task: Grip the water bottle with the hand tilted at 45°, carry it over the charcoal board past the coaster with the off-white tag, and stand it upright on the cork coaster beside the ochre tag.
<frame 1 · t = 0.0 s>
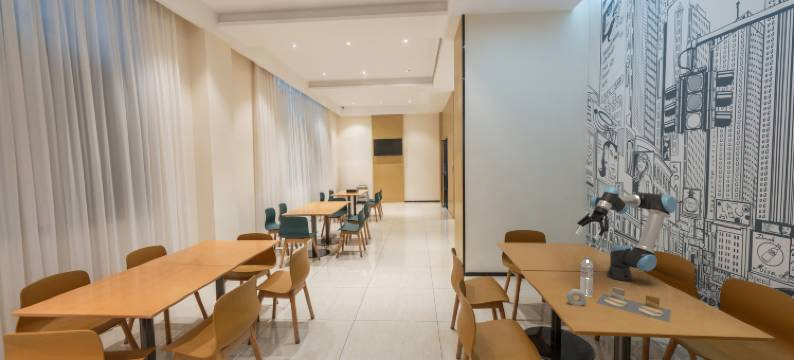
hand: (586, 237, 196), 36 cm above the table, tool tilted 35°, fingers open, 13 cm apart
water bottle: (586, 297, 192), on the table
board: (632, 308, 177), on the table
ochre tag coaster: (650, 311, 171), resting on board
white tag coaster: (615, 302, 182), resting on board
donut: (576, 306, 180), on the table
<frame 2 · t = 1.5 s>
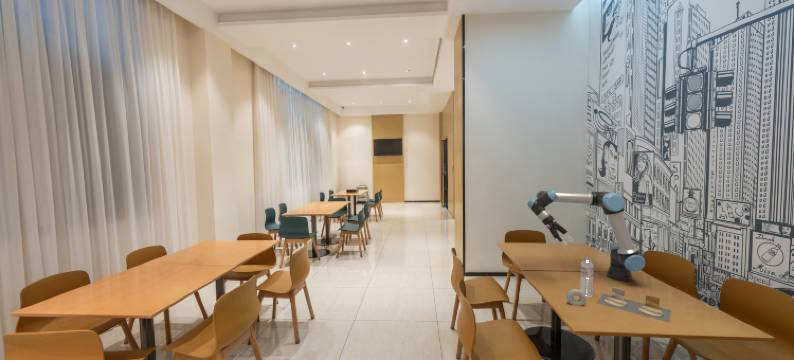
hand: (569, 243, 206), 29 cm above the table, tool tilted 45°, fingers open, 13 cm apart
nothing on the table moved.
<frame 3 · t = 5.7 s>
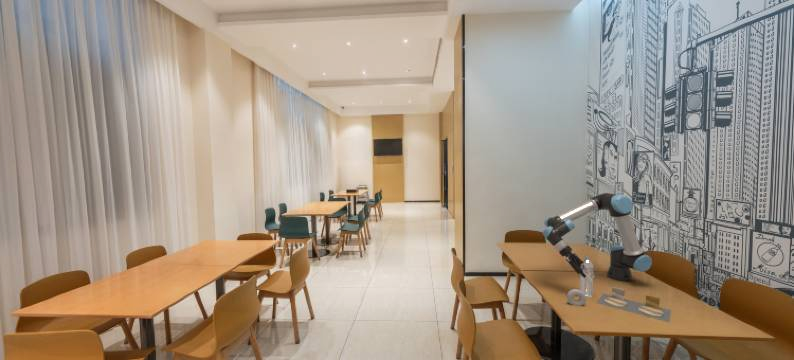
hand: (591, 279, 190), 11 cm above the table, tool tilted 45°, fingers closed on water bottle, 7 cm apart
water bottle: (586, 297, 192), on the table, touching gripper
everything else where it was.
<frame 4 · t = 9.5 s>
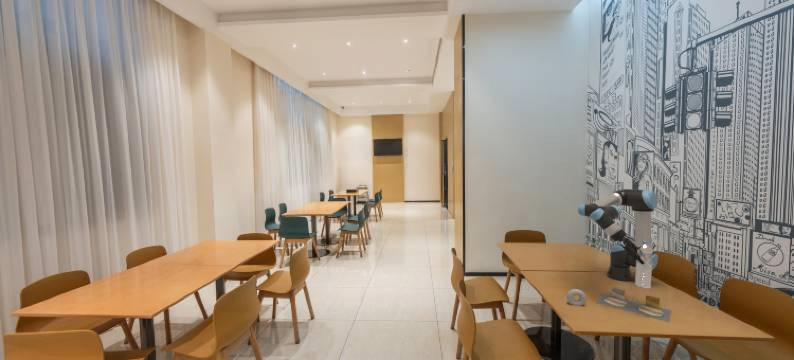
hand: (649, 267, 169), 26 cm above the table, tool tilted 45°, fingers closed on water bottle, 7 cm apart
water bottle: (642, 286, 172), point 14 cm above the table, touching gripper
everything else where it was.
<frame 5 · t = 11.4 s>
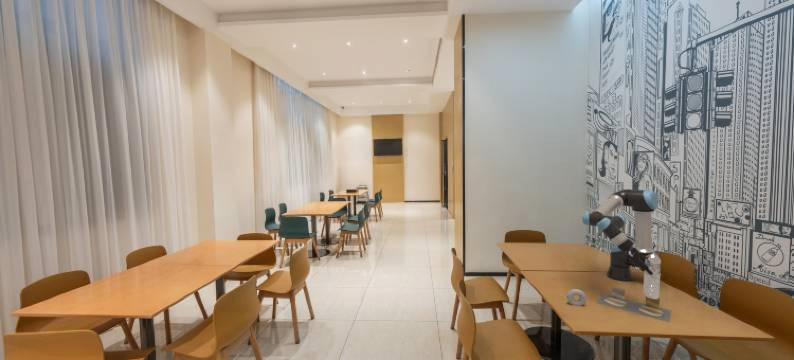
hand: (658, 277, 168), 21 cm above the table, tool tilted 45°, fingers closed on water bottle, 7 cm apart
water bottle: (650, 297, 170), point 9 cm above the table, touching gripper
everything else where it was.
when the fingers open (14 cm above the table, at t = 13.4 s): water bottle stays where it is, resting on ochre tag coaster.
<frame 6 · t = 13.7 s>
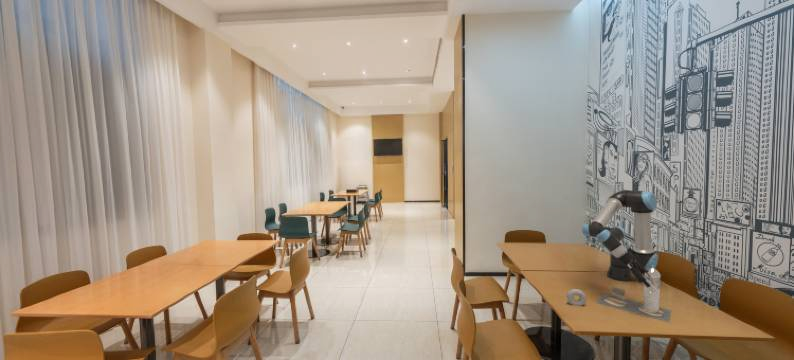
hand: (656, 288, 169), 15 cm above the table, tool tilted 45°, fingers open, 11 cm apart
water bottle: (650, 310, 171), point 2 cm above the table, touching ochre tag coaster
everything else where it was.
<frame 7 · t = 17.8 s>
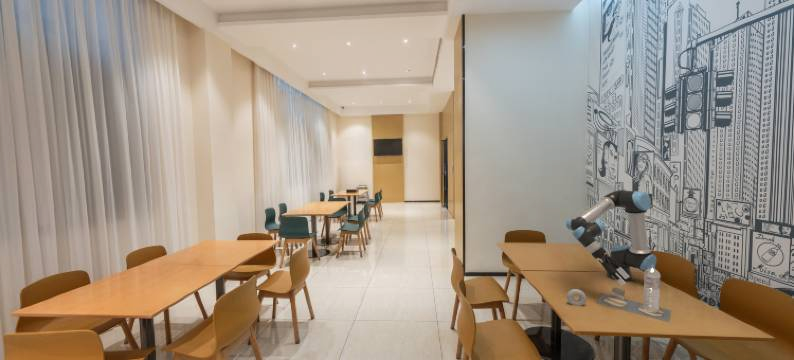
hand: (625, 281, 178), 15 cm above the table, tool tilted 45°, fingers open, 13 cm apart
nothing on the table moved.
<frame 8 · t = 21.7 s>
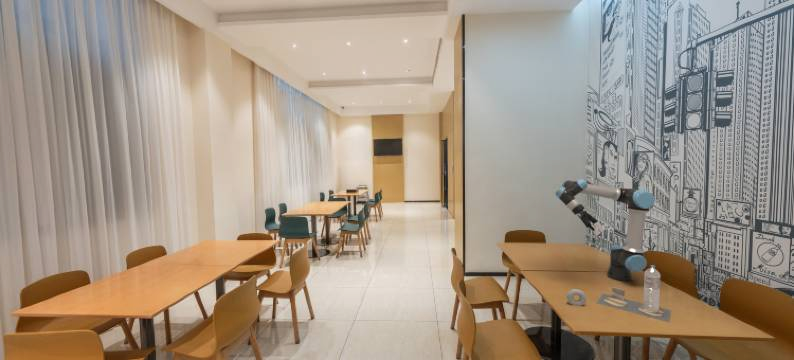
hand: (601, 232, 201), 38 cm above the table, tool tilted 45°, fingers open, 13 cm apart
nothing on the table moved.
at the end: water bottle 0.1 cm off-centre on the ochre tag coaster, point 0.4 cm above the ochre tag coaster's base; water bottle tilted 0°; the gripper is holding nothing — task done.
